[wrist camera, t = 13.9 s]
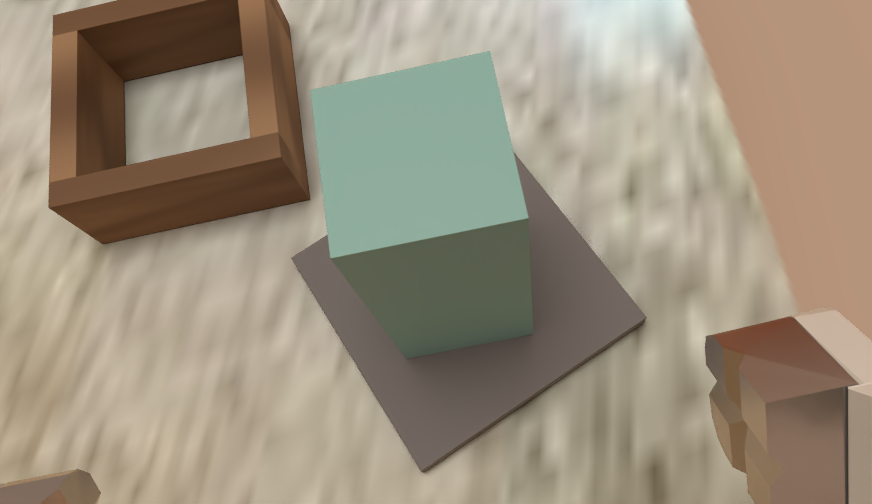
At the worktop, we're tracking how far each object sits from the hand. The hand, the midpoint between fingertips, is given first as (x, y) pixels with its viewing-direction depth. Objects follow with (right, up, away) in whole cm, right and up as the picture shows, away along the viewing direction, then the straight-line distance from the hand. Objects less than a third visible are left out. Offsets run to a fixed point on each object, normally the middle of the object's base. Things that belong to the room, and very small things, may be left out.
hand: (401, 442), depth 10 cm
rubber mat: (+1, +1, +17) cm, 17 cm away
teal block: (+1, +1, +17) cm, 17 cm away
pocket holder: (-9, +7, +21) cm, 24 cm away
